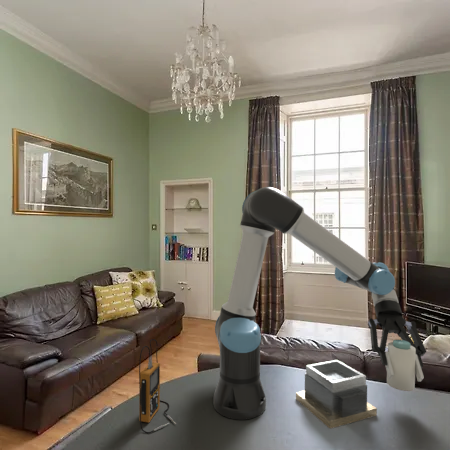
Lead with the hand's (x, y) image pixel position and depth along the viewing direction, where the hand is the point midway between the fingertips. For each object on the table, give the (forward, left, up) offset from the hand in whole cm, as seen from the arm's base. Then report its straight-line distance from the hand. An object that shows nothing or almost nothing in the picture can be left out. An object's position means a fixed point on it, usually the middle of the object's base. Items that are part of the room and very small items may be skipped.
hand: (405, 378), depth 89 cm
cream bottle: (-3, +2, -4) cm, 5 cm away
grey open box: (-10, -16, -10) cm, 21 cm away
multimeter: (-23, -63, -10) cm, 68 cm away
